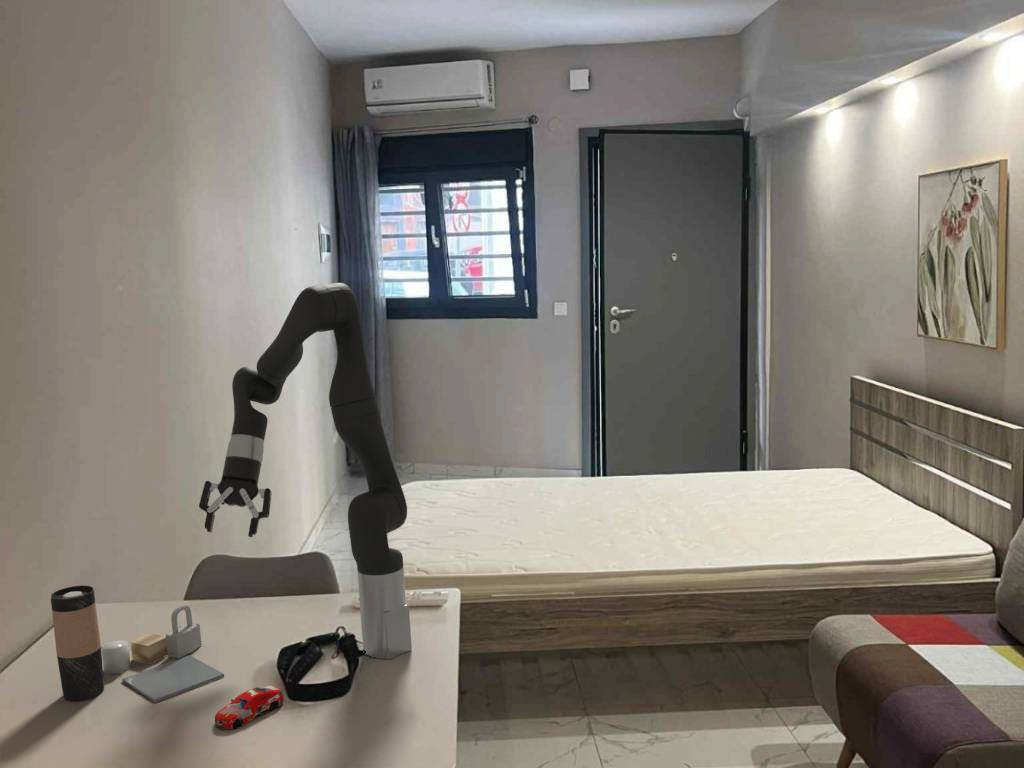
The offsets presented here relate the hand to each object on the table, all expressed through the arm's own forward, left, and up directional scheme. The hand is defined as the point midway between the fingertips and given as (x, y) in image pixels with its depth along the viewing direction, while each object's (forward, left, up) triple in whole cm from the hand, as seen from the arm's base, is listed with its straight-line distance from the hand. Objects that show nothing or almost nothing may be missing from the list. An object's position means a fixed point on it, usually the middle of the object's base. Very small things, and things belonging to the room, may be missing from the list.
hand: (229, 534), depth 203 cm
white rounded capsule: (+7, +23, -23) cm, 34 cm away
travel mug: (+1, +32, -24) cm, 40 cm away
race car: (-32, +16, -24) cm, 43 cm away
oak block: (+7, +16, -24) cm, 29 cm away
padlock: (+4, +10, -24) cm, 26 cm away
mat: (-7, +18, -23) cm, 30 cm away
